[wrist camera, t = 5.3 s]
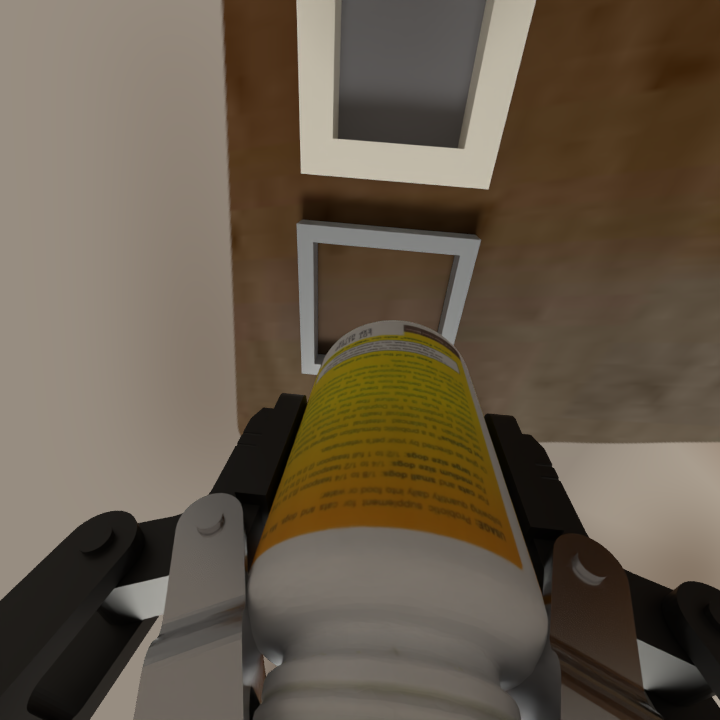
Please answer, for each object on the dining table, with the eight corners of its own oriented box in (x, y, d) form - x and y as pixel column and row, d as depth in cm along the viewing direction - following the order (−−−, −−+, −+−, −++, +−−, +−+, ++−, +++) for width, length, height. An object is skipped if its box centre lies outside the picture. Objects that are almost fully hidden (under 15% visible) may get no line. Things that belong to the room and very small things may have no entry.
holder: (539, -80, 17) (566, -123, 14) (477, 185, 23) (488, 189, 21) (307, -94, 17) (293, -138, 14) (310, 171, 23) (301, 173, 21)
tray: (475, 234, 25) (480, 240, 23) (439, 376, 32) (442, 387, 31) (302, 219, 25) (296, 223, 24) (306, 362, 32) (302, 373, 31)
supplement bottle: (293, 347, 12) (49, 816, 4) (436, 287, 10) (623, 925, 2) (360, 445, 15) (311, 857, 6) (484, 409, 13) (660, 920, 4)
